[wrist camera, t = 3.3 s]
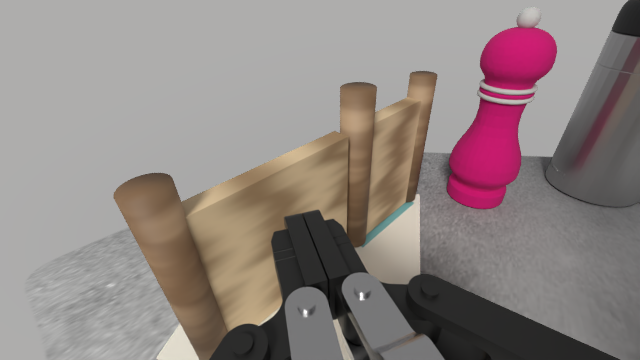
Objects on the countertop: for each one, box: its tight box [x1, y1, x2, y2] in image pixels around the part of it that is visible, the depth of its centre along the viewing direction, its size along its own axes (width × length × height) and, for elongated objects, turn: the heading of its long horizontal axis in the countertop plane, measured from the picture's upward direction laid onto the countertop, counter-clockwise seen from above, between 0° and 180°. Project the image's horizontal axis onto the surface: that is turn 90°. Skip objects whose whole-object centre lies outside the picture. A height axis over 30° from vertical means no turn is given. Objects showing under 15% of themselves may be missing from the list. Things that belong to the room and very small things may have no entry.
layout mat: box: [156, 194, 420, 360], centre depth 29 cm, size 18×24×1 cm
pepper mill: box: [447, 7, 557, 209], centre depth 31 cm, size 7×7×20 cm
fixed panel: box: [340, 71, 437, 248], centre depth 28 cm, size 12×3×15 cm, turn 135°
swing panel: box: [114, 131, 349, 360], centre depth 21 cm, size 14×2×14 cm, turn 135°
